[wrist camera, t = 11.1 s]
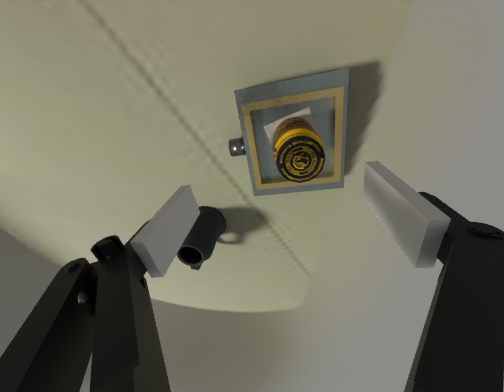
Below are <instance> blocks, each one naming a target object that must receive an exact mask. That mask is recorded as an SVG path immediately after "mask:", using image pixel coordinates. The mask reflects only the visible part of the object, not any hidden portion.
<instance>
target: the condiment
mask: <svg viewBox="0 0 504 392" xmlns="http://www.w3.org/2000/svg"><path fill="white" fill-rule="evenodd" d="M263 127H264V129H265V132H266V134H267V137H268V140H269V142H270V145H271V147H272V150H273V157H274V161H275V163H276V165H277V168H278V170H279V173H280V174H281V175H282V177H284V178H285V179H287V180H289V181H292V182H297V183H303V182H307V181H310V180H312V179H314V178H315V177H317V176H318V174H319V173H320V172H321V171H322V170H323V166H324V163H325V153H324V146H323V143H322V140H321V138H320V137H319V136H318V134H317V133H316V129H315V126H314V122H313V118H312V115H311V111H310V107H308V108H305V109H303V110H300V111H298V112H296V113H293V114H291V115H289V116H286V117H284V118H282V119H279V120H277V121H275V122H273V123H270V124H268V125H265V126H263Z"/></svg>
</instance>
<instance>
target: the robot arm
mask: <svg viewBox="0 0 504 392" xmlns="http://www.w3.org/2000/svg"><path fill="white" fill-rule="evenodd" d="M363 198H364V200H365V201H366V202H367V204H368V205H369V207H370V208H371V209H372V211H373V212H374V213H375V214H376V216H377V217H378V219H379V220H380V221H381V223H382V224H383V225H384V227H385V228H386V229H387V231H388V232H389V233H390V235H391V236H392V237H393V239H394V240H395V242H396V243H397V244H398V246H399V247H400V248H401V250H402V251H403V252H404V254H405V255H406V256H407V258H408V259H409V261H410V262H411V263H412V264H413V266H414V267H415V268H426V267H434V265H435V262H436V259H437V258H438V259H439V260H440V261H441V262H442V263H443V264H444V265H443V268H442V271H441V273H440V276H439V278H438V283H437V287H436V290H435V293H434V296H433V300H432V303H431V306H430V310H429V313H428V316H427V319H426V322H425V325H424V329H423V332H422V335H421V338H420V342H419V345H418V348H417V351H416V354H415V358H414V361H413V364H412V367H411V371H410V374H409V377H408V380H407V383H406V387H405V390H404V392H503V380H504V232H503V231H501V230H500V229H498V228H496V227H494V226H491V225H488V224H484V223H478V222H470V221H468V220H467V219H465V218H464V217H463V216H461V215H460V214H459V213H457V212H456V211H455V210H453V209H452V208H450V207H449V206H448V205H446V204H445V203H442V201H441V200H439V199H438V198H437V197H435V196H433V195H430V194H428V193H426V192H416V191H415V190H414V189H413V188H411V187H410V186H409V185H407V184H406V183H405V182H404V181H402V180H401V179H400V178H399V177H397V176H396V175H395V174H393V173H392V172H391V171H390V170H388V169H387V168H386V167H385V166H383V165H382V164H381V163H380V162H378V161H375V162H367V163H366V164H365V176H364V186H363ZM199 214H200V211H199V208H198V205H197V202H196V200H195V197H194V194H193V192H192V189H191V186H190V185H184V186H181V187H180V188H179V189H178V190H177V191H176V192H175V193H174V194H173V196H172V197H171V198H170V199H169V200H168V201H167V202H166V203H165V204H164V205H163V206H162V208H161V209H160V210H159V211H158V212H157V213H156V214H155V215H154V216H153V217H152V219H150V220H149V221H147V222H146V223H145V224H144V225H143V226H142V227H141V228H140V230H138V231H137V232H136V234H134V235H133V236H132V238H131V239H130V240H129V241H128V242H127V243H126V244H125V245H123V244H122V242H121V241H120V239H119V237H118V236H116V235H113V236H109V237H106V238H104V239H102V240H100V241H98V242H97V243H96V244H94V245H93V246H92V248H91V252H92V253H93V254H94V255H95V257H96V258H97V259H98V261H97V262H94V263H91V264H90V263H89V262H88V261H87V260H86V259H85V258H79V259H76V260H74V261H71V262H69V263H67V264H66V265H65V266H64V267H63V268H61V269H60V271H59V272H58V273H57V274H56V276H55V277H54V279H53V280H52V282H51V283H50V285H49V286H48V288H47V289H46V291H45V292H44V294H43V295H42V297H41V298H40V300H39V301H38V303H37V304H36V306H35V307H34V309H33V310H32V312H31V313H30V314H29V316H28V318H27V319H26V321H25V322H24V323H23V325H22V327H21V328H20V329H19V331H18V332H17V334H16V335H15V337H14V338H13V340H12V341H11V343H10V344H9V346H8V347H7V349H6V350H5V352H4V353H3V355H2V356H1V358H0V392H79V391H80V388H81V385H82V382H83V379H84V375H85V372H86V369H87V366H88V363H89V360H90V357H91V353H92V365H91V381H90V392H171V390H170V386H169V381H168V376H167V372H166V367H165V363H164V358H163V354H162V349H161V345H160V341H159V336H158V331H157V327H156V322H155V318H154V313H153V309H152V305H151V300H150V295H149V291H148V286H147V282H146V279H145V278H144V274H145V273H146V271H148V273H149V274H150V276H151V277H163V276H164V275H165V273H166V271H167V269H168V268H169V266H170V264H171V263H172V261H173V259H174V257H175V256H176V254H177V252H178V250H179V249H180V247H181V245H182V244H183V242H184V240H185V238H186V237H187V235H188V233H189V232H190V230H191V228H192V226H193V225H194V223H195V221H196V219H197V218H198V216H199ZM78 299H79V300H80V302H79V303H78ZM92 351H93V352H92Z"/></svg>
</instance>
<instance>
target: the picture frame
mask: <svg viewBox="0 0 504 392" xmlns="http://www.w3.org/2000/svg"><path fill="white" fill-rule="evenodd" d="M348 84H349V68H346V69H341V70H336V71H331V72H326V73H321V74H316V75H311V76H306V77H300V78H295V79H290V80H285V81H280V82H275V83H270V84H265V85H260V86H255V87H250V88H245V89H240V90H235V91H234V93H235V98H236V103H237V109H238V114H239V119H240V124H241V130H242V135H243V138H238V139H232V140H229V150H230V154H231V156H240V155H246V156H247V161H248V167H249V172H250V177H251V182H252V188H253V193H254V196H261V195H271V194H282V193H292V192H303V191H313V190H324V189H334V188H344V168H345V147H346V126H347V105H348ZM308 107H310V111H311V115H312V118H313V122H314V126H315V129H316V133H317V134H318V136H319V137H320V138H321V140H322V143H323V146H324V153H325V163H324V166H323V170H322V171H321V172H320V173H319V174H318V176H317V177H315V178H314V179H312V180H310V181H307V182H303V183H297V182H292V181H289V180H287V179H285V178H284V177H282V175H281V174H280V173H279V170H278V168H277V165H276V163H275V161H274V157H273V150H272V147H271V145H270V142H269V140H268V137H267V134H266V132H265V129H264V127H263V126H265V125H268V124H270V123H273V122H275V121H277V120H279V119H282V118H284V117H286V116H289V115H291V114H293V113H296V112H298V111H300V110H303V109H305V108H308Z"/></svg>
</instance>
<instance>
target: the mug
mask: <svg viewBox="0 0 504 392" xmlns="http://www.w3.org/2000/svg"><path fill="white" fill-rule="evenodd" d="M198 208H199V211H200V214H199V216H198V218H197V219H196V221H195V223H194V225H193V226H192V228H191V230H190V232H189V233H188V235H187V237H186V238H185V240H184V242H183V244H182V245H181V247H180V249H179V250H178V252H177V257H178V259H179V260H180V261H181V262H182V263H184V264H186V265H189V266H191V269H195V270H199V269H200V267H201V264H202V263H203V262H204V261H205V260H207V259H209V258H210V256H211V255H212V252H213V250H214V247H215V244H216V241H217V238H218V237H219V236H220V235H221V234H222V233H223V231H224V230H225V228H226V220H225V218H224V216H223V215H222V214H221V213H220V212H219V211H218V210H216V209H214V208H211V207H207V206H202V207H198Z"/></svg>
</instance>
